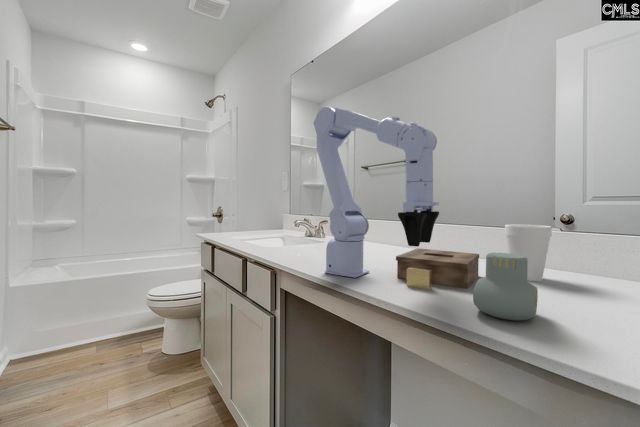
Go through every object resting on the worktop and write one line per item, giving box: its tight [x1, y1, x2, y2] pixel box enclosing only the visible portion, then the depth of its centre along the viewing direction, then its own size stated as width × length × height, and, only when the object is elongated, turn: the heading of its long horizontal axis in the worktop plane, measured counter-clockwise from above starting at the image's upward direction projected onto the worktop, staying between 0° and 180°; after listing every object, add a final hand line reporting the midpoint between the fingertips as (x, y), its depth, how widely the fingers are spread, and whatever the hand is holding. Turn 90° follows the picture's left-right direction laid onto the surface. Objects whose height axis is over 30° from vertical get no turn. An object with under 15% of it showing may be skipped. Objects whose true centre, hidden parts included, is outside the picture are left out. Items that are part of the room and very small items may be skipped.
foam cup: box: [504, 224, 553, 282], centre depth 75 cm, size 10×9×13 cm
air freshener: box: [472, 252, 538, 322], centre depth 50 cm, size 11×8×10 cm
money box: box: [395, 248, 480, 289], centre depth 76 cm, size 16×16×6 cm
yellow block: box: [406, 267, 433, 291], centre depth 67 cm, size 5×2×4 cm, turn 54°
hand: (419, 244), depth 67 cm, fingers open, 7 cm apart
